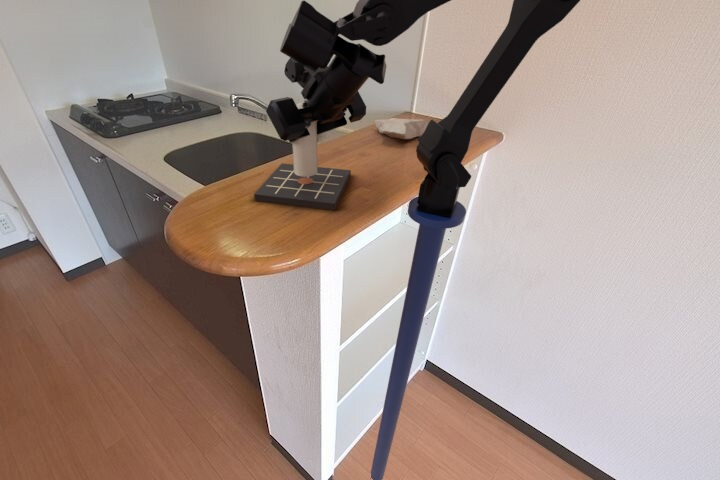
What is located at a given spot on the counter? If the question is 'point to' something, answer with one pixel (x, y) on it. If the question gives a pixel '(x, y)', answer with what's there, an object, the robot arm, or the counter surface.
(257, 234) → the counter surface
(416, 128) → the rock
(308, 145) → the white rounded cylinder
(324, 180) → the game board
